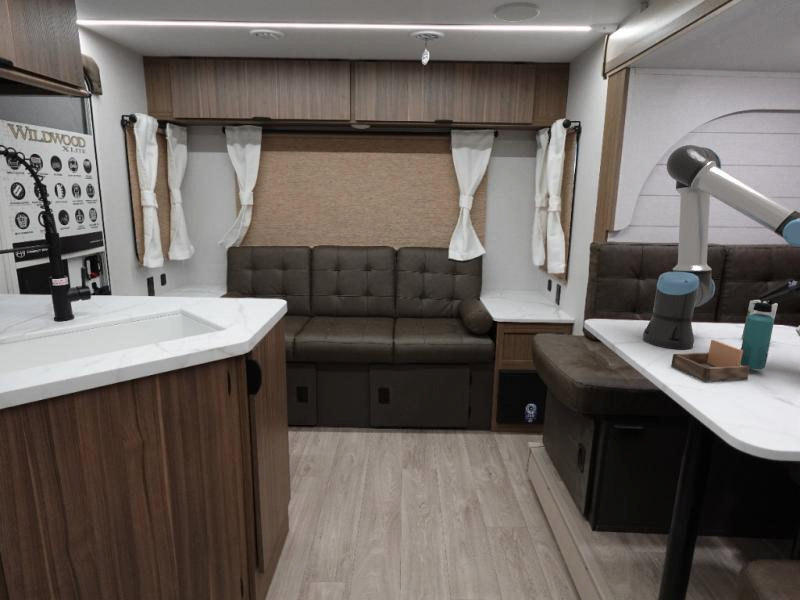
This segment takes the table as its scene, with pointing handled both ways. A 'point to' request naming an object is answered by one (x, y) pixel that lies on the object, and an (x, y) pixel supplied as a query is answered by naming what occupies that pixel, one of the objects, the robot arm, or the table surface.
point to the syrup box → (750, 310)
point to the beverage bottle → (757, 337)
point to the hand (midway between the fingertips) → (774, 326)
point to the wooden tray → (707, 368)
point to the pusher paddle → (723, 355)
